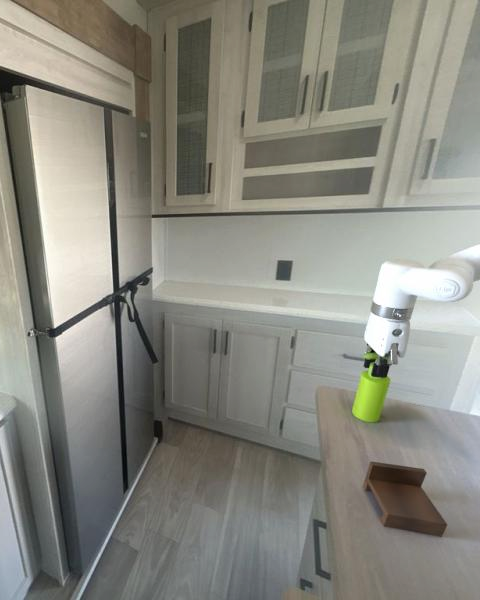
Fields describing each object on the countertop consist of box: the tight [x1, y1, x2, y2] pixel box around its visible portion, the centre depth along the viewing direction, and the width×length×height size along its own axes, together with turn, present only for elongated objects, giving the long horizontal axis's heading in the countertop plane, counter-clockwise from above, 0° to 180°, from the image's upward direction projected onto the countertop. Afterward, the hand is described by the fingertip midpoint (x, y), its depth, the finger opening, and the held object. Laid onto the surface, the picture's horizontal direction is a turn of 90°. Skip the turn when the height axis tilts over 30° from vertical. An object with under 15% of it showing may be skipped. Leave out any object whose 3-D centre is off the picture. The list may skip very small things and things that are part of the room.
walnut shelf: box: [362, 461, 448, 538], centre depth 67 cm, size 9×9×9 cm
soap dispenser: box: [351, 353, 391, 423], centre depth 90 cm, size 6×7×20 cm
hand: (374, 371), depth 88 cm, fingers closed on soap dispenser, 3 cm apart
